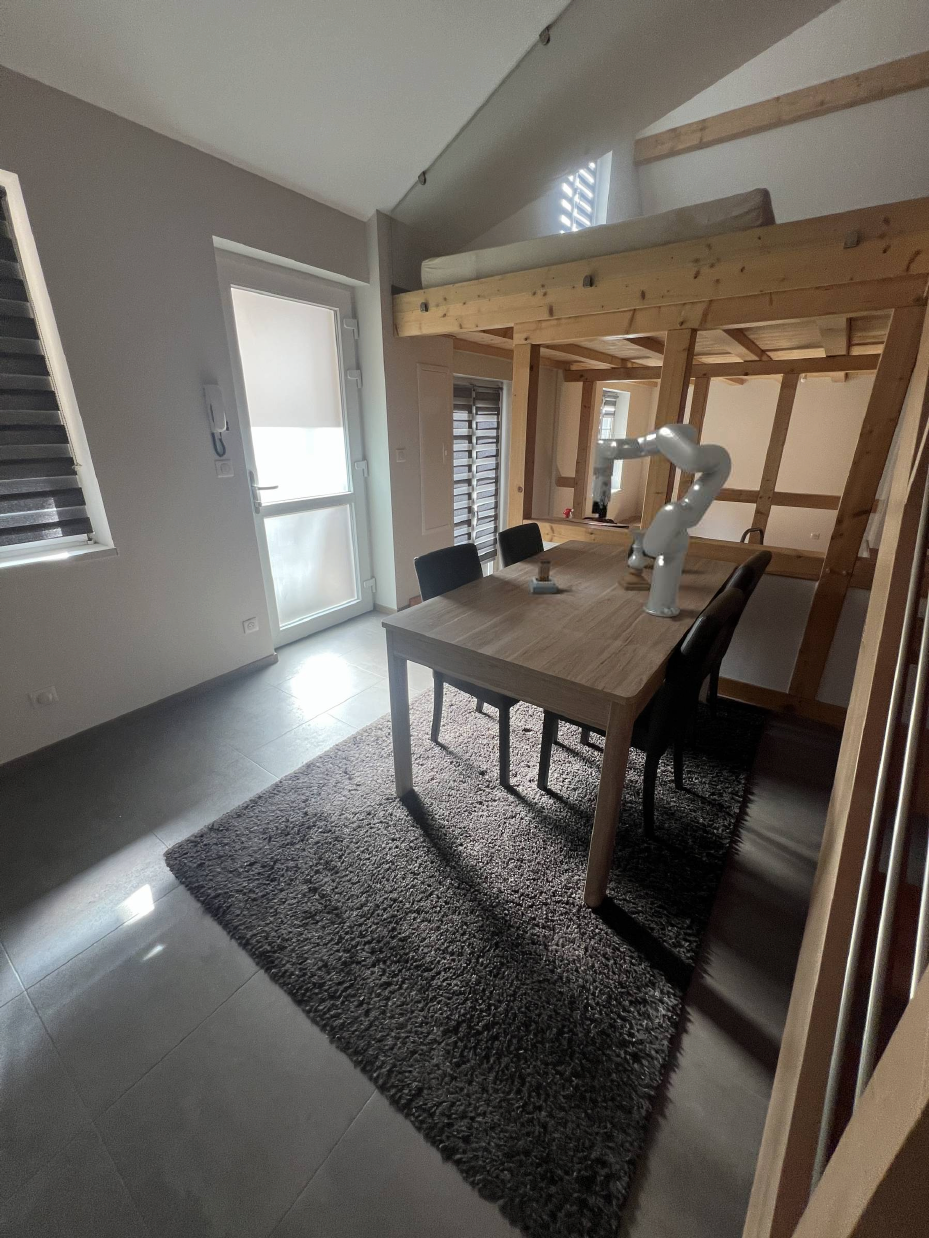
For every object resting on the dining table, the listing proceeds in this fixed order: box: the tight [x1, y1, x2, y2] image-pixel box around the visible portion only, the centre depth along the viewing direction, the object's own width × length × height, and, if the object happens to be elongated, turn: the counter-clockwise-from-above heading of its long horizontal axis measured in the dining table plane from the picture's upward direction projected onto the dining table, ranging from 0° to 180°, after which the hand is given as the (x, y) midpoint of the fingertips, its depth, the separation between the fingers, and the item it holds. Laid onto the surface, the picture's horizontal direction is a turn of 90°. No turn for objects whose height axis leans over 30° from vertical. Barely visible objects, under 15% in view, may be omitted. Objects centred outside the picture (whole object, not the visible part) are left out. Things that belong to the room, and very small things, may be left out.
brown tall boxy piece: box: [537, 558, 551, 582], centre depth 205 cm, size 4×4×12 cm
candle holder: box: [617, 528, 651, 591], centre depth 207 cm, size 11×11×24 cm
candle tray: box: [528, 576, 558, 595], centre depth 207 cm, size 10×10×4 cm
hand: (598, 515), depth 200 cm, fingers open, 9 cm apart
